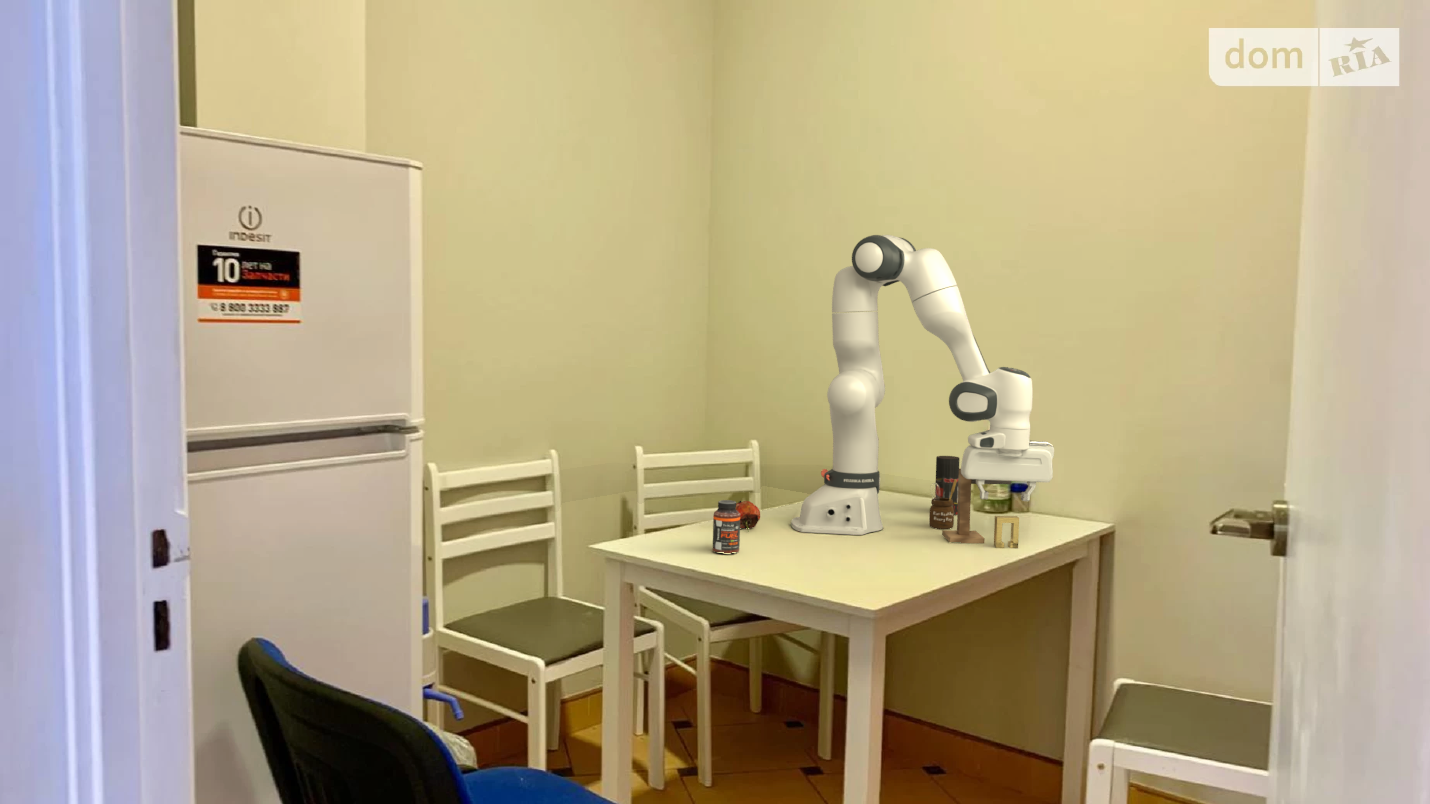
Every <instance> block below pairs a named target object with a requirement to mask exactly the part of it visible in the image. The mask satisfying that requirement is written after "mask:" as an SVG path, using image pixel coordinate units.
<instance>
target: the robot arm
mask: <svg viewBox="0 0 1430 804" xmlns="http://www.w3.org/2000/svg"><path fill="white" fill-rule="evenodd" d="M851 264H852V265H849V266H846V267H844V268H842V269H840V270H839V271H838V272H837V273H836V275H835V277H834V281H833V287H832V296H831V297H832V298H831V313H832V314H831V319H832V320H831V321H832V324H831V325H832V326H831V327H832V346H833V349H834V351H835V355H836V356H835V357H836V361H837V369H838V374H837V375H836V376H835V377H834V378H833V379H832V381H831V382H830V384H829V386H828V389H827V393H826V397H827V402H828V404H829V415H830V423H831V428H832V429H831V430H832V441H833V442H832V468H831V469H830V470H828V469H827V468H822V470H820V474H821V477H822V478H823V481H824V482H823V483H824V484H823V485H822V486H821V487H819V488H817V489H816V490H815V491H813V492H812V493H811V494H809V495H808V496H807V497H805V498H804V500H803V502H802V504H801V507H800V513H799V516H796V517H793V518H792V519H791V520H790V521H791V522H790V526H791V527H792V529H793V530H795V531H798V532H801V533H812V534H813V533H815V534H817V533H818V534H835V535H852V536H853V535H854V536H855V535H857V536H862V535H866V534H868V533H872V532H878V531H881V530H883V529H884V526H883V522H882V517H881V512H880V510H881V509H880V503H879V493H880V490H881V486H880V485H881V475H880V474H881V473H880V471H879V443H880V442H879V436H878V430H877V421H876V408H878V407H879V406H880V404H881V403H882V401H883V400H884V398H885V394H886V384H885V378H884V372H883V370H884V369H883V363H882V362H883V361H882V356H881V351H880V340H879V339H880V338H879V306H878V305H879V304H878V295H879V291H880V290H881V287H888V286H890V285H894V284H895V283H898V282H901V283H902V284H903V285H904V287H905V288H906V291H907V293H908V296H909V298H910V301H911V304H912V307H913V310H914V312H915V314H916V317H917V318H918V320H919V322H920V323H921V325H922V326H923V328H924V329H925V330H926V331H927V332H929V333H930V334H932V335H934V336H936V337H937V338H938V339H940V340H941V341H942V342H943V343H944V344H945V345H946V346H947V348H948V349H949V350H950V353H951V354H952V357H953V359H954V362H955V364H956V366H957V369H958V372H959V374H960V376H961V379H962V382H960V383H958V384H956V385H955V386H954V387H953V388H952V389H951V391H950V394H949V397H948V405H949V406H948V407H949V409H950V411H951V413H952V415H953V416H954V417H956V418H957V419H959V420H961V421H964V422H966V423H967V422H969V423H975V422H980V421H988V422H989V429H987V430H984V431H979V432H976V433H975V432H974V433H972V434H970V435H968V437H967V443H968V444H969V445H967V447H965V449H964V451H963V454H962V458H961V459H962V460H961V464H960V465H961V467H960V469H961V474H962V475H963V477H965V478H966V479H976V484H975V485H976V486H977V487H978V490H979V499H980V500H989V494H990V493H989V491H988V490H985V488H984V485H985V484H984V482H985V480H1001V481H1011V482H1026V485H1027V486H1028V487H1027V488H1026V489H1025V491H1022V492H1021V494H1020V495H1021V496H1020V499H1021V500H1020V501H1022V502H1030V500H1031V499H1030V498H1031V494H1032V493H1033V491H1034V490H1035V489H1036V486H1037V483H1050V482H1051V481H1052V480H1053V478H1054V475H1053V474H1054V472H1053V459H1054V455H1055V447H1054V445H1053V444H1051V443H1049V441H1046V440H1044V441H1043V440H1042V441H1037V440H1031V439H1030V437H1031V423H1030V416H1031V413H1032V410H1033V399H1034V398H1033V395H1034V394H1033V390H1034V388H1033V379H1032V378H1031V376H1030V375H1029V373H1027V372H1026V371H1024V370H1021V369H1018V368H1014V367H1008V366H999V367H998V368H996V369H995V370H993V371H992V372H991V371H990V370H989V368H988V365H987V364H986V361H985V359H984V356H983V354H982V351H981V349H980V346H979V345H978V342H977V340H976V337H975V335H974V333H973V330H972V328H971V327H972V326H971V324H970V321H969V318H968V315H967V311H966V307H965V305H964V300H963V298H962V294H961V291H960V289H959V286H958V284H957V281H956V279H955V276H954V274H953V272H952V270H951V268H950V265H949V264H948V262H947V260H946V258H944V256H943V254H942V253H941V252H940V251H939V250H938V249H935V248H934V247H933V248H932V247H924V248H920V249H917V250H916V247H915V246H914V245H913V243H911V242H910V241H909V240H908V239H906V238H904V237H899V236H895V235H892V234H882V235H881V234H873V235H868V236H866V237H864V238H862V239H860V241H858V242H857V244H856V245H855V246H854V248H853V250H852V253H851Z"/></svg>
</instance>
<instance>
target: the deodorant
mask: <svg viewBox="0 0 1430 804" xmlns="http://www.w3.org/2000/svg"><path fill="white" fill-rule="evenodd" d="M935 459H936V460H935V463H936V464H935V483H937V485H936V484H934V485H935V486H934V491H935V492H934V498H950V495H951V489H952V486H953V483H954V480H955V479H956V480H957V482H956V485H955V489H954V492H953V494H952V497H951V499H952V500H953V505H952V507H953V509H954V515H955V516H957V510H958V482H959V469H960V457H959V456H953V455H938V456H936V458H935ZM937 487H938V488H937ZM936 492H937V493H936ZM939 492H940V493H939ZM939 495H940V497H939ZM935 496H936V497H935Z"/></svg>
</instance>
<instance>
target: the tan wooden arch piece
mask: <svg viewBox="0 0 1430 804" xmlns="http://www.w3.org/2000/svg"><path fill="white" fill-rule="evenodd" d="M1003 524H1010V540H1007V547H1008V548H1009V549H1019V535H1020V533H1019V532H1020V517H1019V516H1018V515H994V524H993V525H994V526H993V527H994V528H993V529H994V530H993V531H994V532H993V547H994V548H995V549H1005V542H1004V541H1002V540H1003Z"/></svg>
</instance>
